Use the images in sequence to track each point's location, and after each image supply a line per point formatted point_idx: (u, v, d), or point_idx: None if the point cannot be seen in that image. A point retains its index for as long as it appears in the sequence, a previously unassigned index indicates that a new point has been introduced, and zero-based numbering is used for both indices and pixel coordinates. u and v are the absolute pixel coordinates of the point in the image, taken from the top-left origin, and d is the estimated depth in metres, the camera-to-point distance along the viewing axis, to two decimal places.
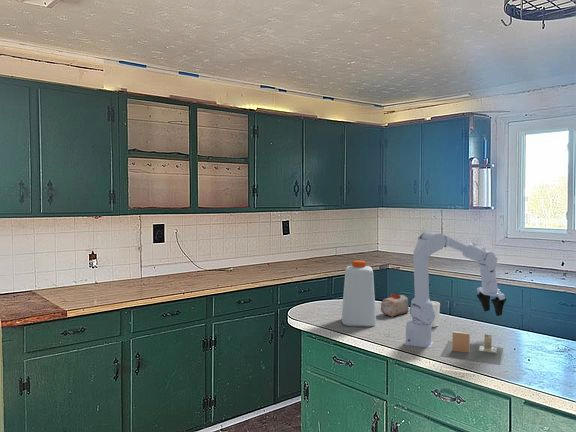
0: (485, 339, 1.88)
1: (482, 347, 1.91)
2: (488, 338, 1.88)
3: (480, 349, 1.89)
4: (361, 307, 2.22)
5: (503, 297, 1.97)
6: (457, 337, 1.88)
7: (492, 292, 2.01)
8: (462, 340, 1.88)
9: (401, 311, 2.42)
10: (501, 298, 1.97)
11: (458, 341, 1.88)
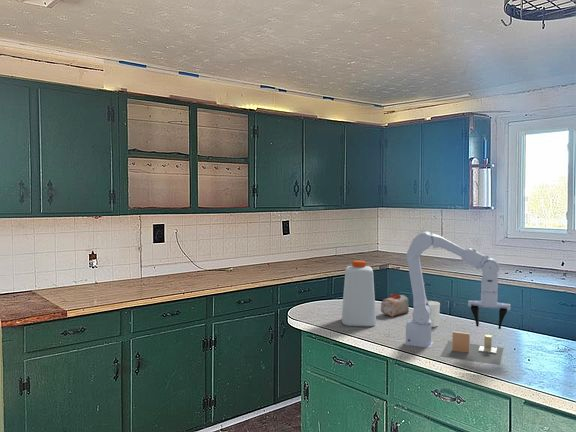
0: (485, 339, 1.88)
1: (482, 347, 1.91)
2: (488, 338, 1.88)
3: (480, 349, 1.89)
4: (361, 307, 2.22)
5: None
6: (457, 337, 1.88)
7: (496, 303, 1.86)
8: (462, 340, 1.88)
9: (401, 311, 2.42)
10: None
11: (458, 341, 1.88)
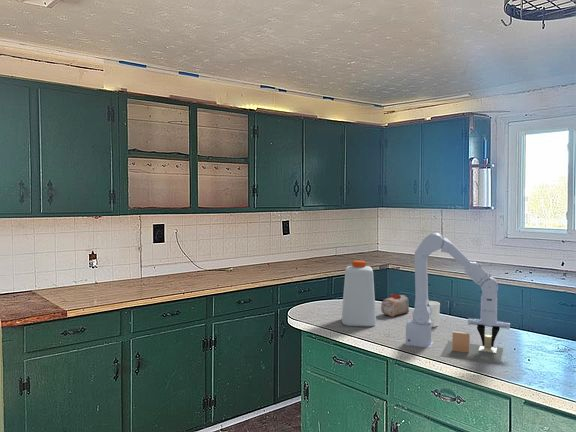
0: (485, 339, 1.88)
1: (482, 347, 1.91)
2: (488, 338, 1.88)
3: (480, 349, 1.89)
4: (361, 307, 2.22)
5: (509, 326, 1.86)
6: (457, 337, 1.88)
7: (496, 322, 1.87)
8: (462, 340, 1.88)
9: (401, 311, 2.42)
10: (509, 327, 1.85)
11: (458, 341, 1.88)
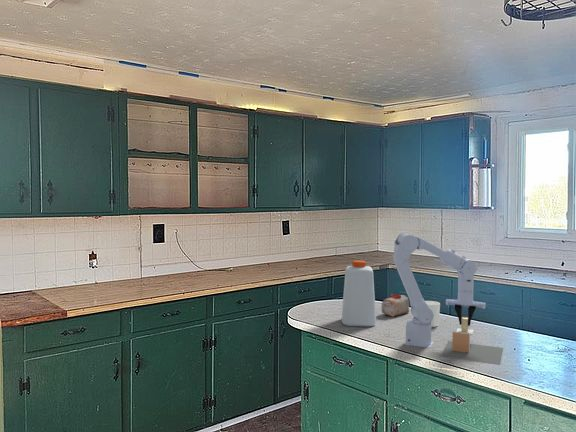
0: (462, 321, 1.98)
1: (459, 329, 2.00)
2: (465, 320, 1.97)
3: (457, 331, 1.98)
4: (361, 307, 2.22)
5: None
6: (457, 337, 1.88)
7: (472, 302, 1.96)
8: (462, 340, 1.88)
9: (402, 311, 2.42)
10: None
11: (458, 341, 1.88)
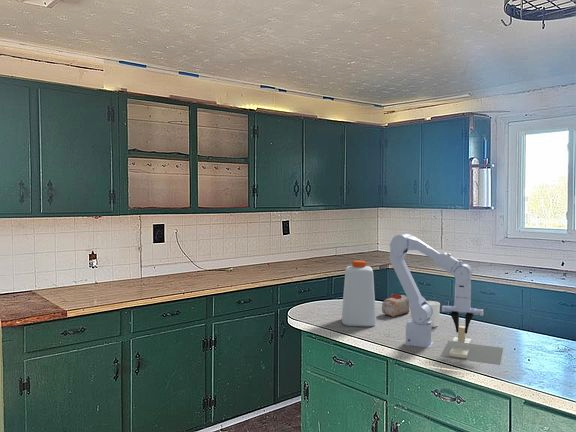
0: (459, 330, 1.90)
1: (456, 338, 1.92)
2: (462, 329, 1.89)
3: (454, 340, 1.90)
4: (361, 307, 2.22)
5: None
6: None
7: (469, 308, 1.88)
8: None
9: (402, 311, 2.42)
10: (482, 314, 1.86)
11: None
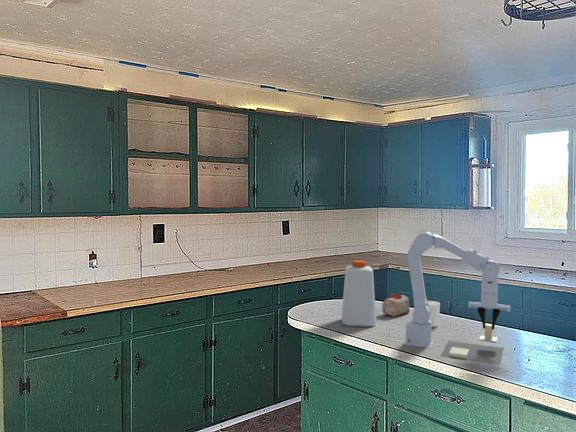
0: (486, 328, 1.89)
1: (483, 336, 1.92)
2: (489, 327, 1.89)
3: (481, 338, 1.90)
4: (361, 307, 2.22)
5: None
6: None
7: (496, 304, 1.87)
8: None
9: (402, 311, 2.42)
10: None
11: None
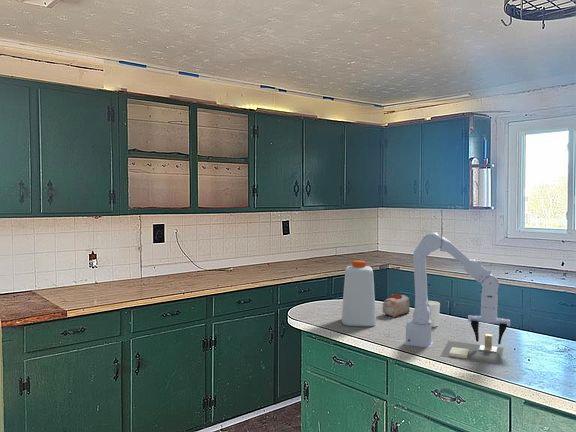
0: (485, 338, 1.90)
1: (482, 346, 1.92)
2: (488, 337, 1.89)
3: (480, 348, 1.90)
4: (361, 307, 2.22)
5: None
6: None
7: (496, 318, 1.88)
8: None
9: (403, 311, 2.42)
10: (509, 324, 1.86)
11: None
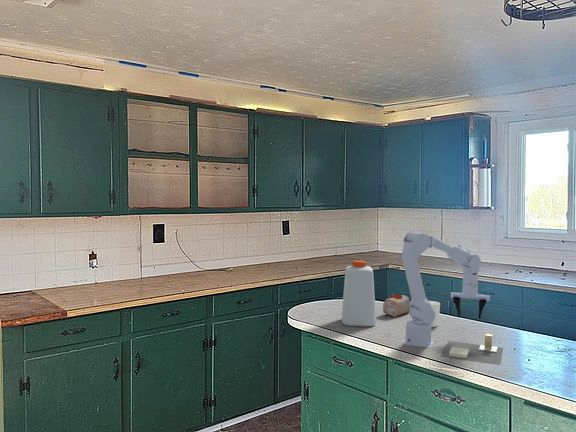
0: (485, 338, 1.90)
1: (482, 346, 1.92)
2: (488, 337, 1.89)
3: (480, 348, 1.90)
4: (361, 307, 2.22)
5: (489, 298, 2.00)
6: None
7: (477, 295, 2.00)
8: None
9: (403, 311, 2.42)
10: (489, 299, 1.99)
11: None
